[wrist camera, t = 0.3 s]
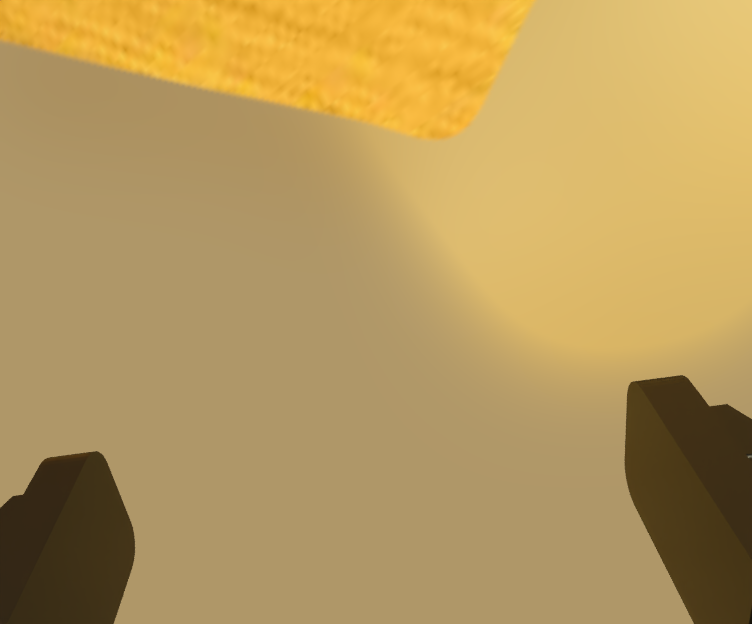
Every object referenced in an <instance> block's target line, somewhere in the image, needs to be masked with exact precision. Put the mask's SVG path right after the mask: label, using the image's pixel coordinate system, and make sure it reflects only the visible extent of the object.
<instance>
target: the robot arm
mask: <svg viewBox="0 0 752 624" xmlns="http://www.w3.org/2000/svg"><path fill="white" fill-rule="evenodd" d="M626 415H627V416H626V441H625V473H626V479H627V484H628V488H629V492H630V495H631V498H632V500H633V503H634V505H635V507H636V509H637V511H638V513H639V515H640V517H641V519H642V521H643V523H644V525H645V527H646V529H647V531H648V533H649V535H650V537H651V539H652V541H653V543H654V545H655V547H656V549H657V551H658V553H659V555H660V557H661V559H662V561H663V563H664V565H665V567H666V569H667V571H668V573H669V575H670V577H671V579H672V581H673V583H674V585H675V587H676V589H677V591H678V593H679V595H680V596H681V599H682V600H683V603H684V604H685V607H686V609H687V611H688V613H689V615H690V616H691V618H692V620H693V622H694V624H752V419H751V418H749V417H747V416H746V415H744V414H742V413H741V412H739V411H737V410H736V409H734V408H733V407H731V406H729V405H728V404H726V405H717V406H709V405H708V404H707V403H706V401H705V400H704V399H703V398H702V396H701V395H700V393H699V392H698V391H697V390H696V388H695V387H694V386H693V385H692V383H691V382H690V381H689V379H688V378H687V377H685V376H683V375H680V376H672V377H665V378H657V379H650V380H642V381H635V382H631V383H630V385H629V388H628V393H627V414H626ZM134 555H135V539H134V532H133V527H132V524H131V521H130V519H129V516H128V514H127V511H126V509H125V506H124V504H123V501H122V499H121V496H120V494H119V491H118V489H117V486H116V484H115V481H114V479H113V476H112V474H111V471H110V469H109V466H108V463H107V461H106V459H105V458H104V456H103V455H102V454H101V453H99V452H97V451H96V452H88V453H80V454H72V455H65V456H58V457H50V458H47V459H45V460H44V461H43V462H42V463H41V464H40V466H39V468H38V470H37V471H36V473H35V475H34V477H33V478H32V480H31V482H30V484H29V485H28V487H27V489H26V491H25V493H24V494H23V495H18V496H13V497H12V498H10V499H9V500H8V501H7V502H6V503H5V504H4V505H3V506H2V507H1V508H0V624H113V623H114V621H115V618H116V615H117V612H118V609H119V606H120V603H121V600H122V597H123V593H124V591H125V587H126V585H127V581H128V579H129V576H130V572H131V569H132V566H133V561H134Z"/></svg>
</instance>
